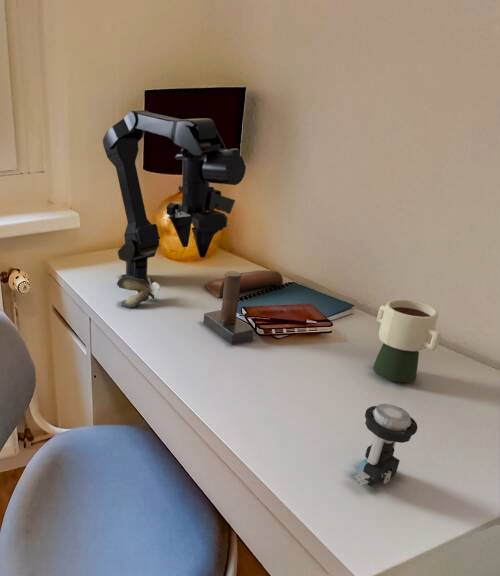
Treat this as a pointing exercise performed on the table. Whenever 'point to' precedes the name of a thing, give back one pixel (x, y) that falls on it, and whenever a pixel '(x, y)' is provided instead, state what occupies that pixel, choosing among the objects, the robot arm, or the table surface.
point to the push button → (384, 442)
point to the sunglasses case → (248, 281)
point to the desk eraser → (229, 314)
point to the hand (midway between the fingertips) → (193, 251)
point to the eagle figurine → (139, 286)
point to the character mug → (404, 338)
